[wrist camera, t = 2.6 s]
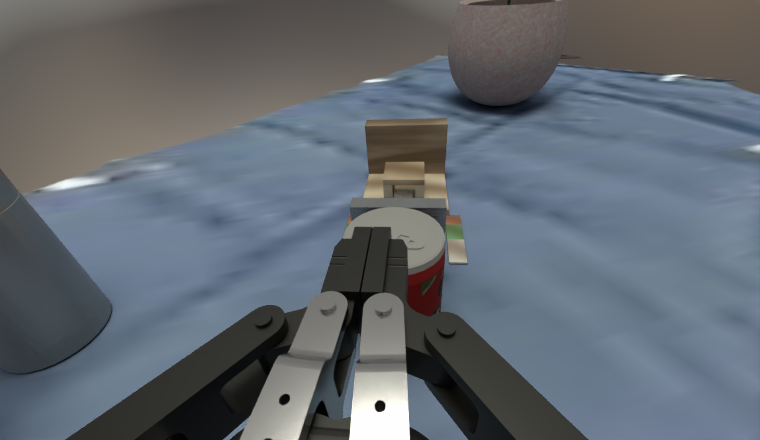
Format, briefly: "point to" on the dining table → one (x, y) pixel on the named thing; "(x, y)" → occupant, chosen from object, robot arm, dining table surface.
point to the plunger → (402, 205)
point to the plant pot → (505, 48)
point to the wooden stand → (412, 167)
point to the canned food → (413, 252)
